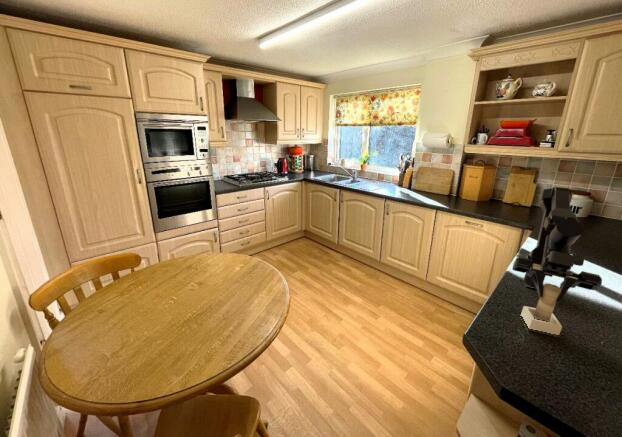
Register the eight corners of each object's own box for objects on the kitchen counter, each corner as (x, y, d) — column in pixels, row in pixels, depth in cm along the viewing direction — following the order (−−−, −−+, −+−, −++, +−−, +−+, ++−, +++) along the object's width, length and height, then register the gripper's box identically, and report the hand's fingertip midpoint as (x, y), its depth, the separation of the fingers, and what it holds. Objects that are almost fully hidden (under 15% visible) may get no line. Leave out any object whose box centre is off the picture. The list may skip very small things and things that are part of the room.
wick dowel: (534, 310, 81) (544, 282, 78) (549, 315, 79) (560, 286, 76) (534, 316, 78) (544, 287, 75) (550, 322, 76) (561, 292, 73)
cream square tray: (520, 316, 84) (523, 305, 83) (547, 322, 82) (551, 311, 80) (528, 330, 78) (532, 319, 77) (557, 338, 76) (562, 326, 74)
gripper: (524, 232, 79) (514, 279, 74) (613, 249, 69) (609, 305, 64) (516, 247, 88) (507, 291, 83) (594, 264, 78) (590, 315, 73)
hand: (549, 299), depth 76 cm, fingers closed on wick dowel, 4 cm apart
